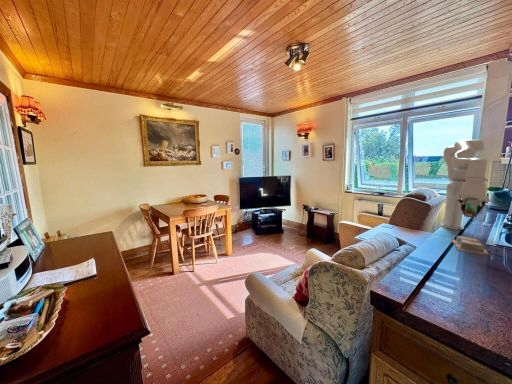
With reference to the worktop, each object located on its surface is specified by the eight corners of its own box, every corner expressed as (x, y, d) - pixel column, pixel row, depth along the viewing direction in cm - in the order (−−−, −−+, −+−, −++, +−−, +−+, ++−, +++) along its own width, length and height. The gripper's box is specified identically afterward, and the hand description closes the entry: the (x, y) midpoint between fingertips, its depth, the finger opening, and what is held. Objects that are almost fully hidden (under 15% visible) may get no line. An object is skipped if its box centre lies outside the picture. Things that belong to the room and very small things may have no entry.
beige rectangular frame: (451, 240, 131) (452, 234, 131) (479, 244, 125) (480, 238, 124) (457, 250, 118) (458, 242, 118) (488, 255, 112) (490, 247, 111)
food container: (480, 218, 121) (483, 200, 120) (465, 217, 125) (467, 199, 124) (476, 214, 131) (478, 197, 130) (462, 213, 135) (463, 196, 134)
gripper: (493, 180, 124) (488, 212, 127) (453, 179, 133) (449, 208, 136) (498, 181, 118) (493, 215, 120) (456, 180, 127) (451, 211, 129)
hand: (469, 211), depth 128 cm, fingers closed on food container, 5 cm apart
